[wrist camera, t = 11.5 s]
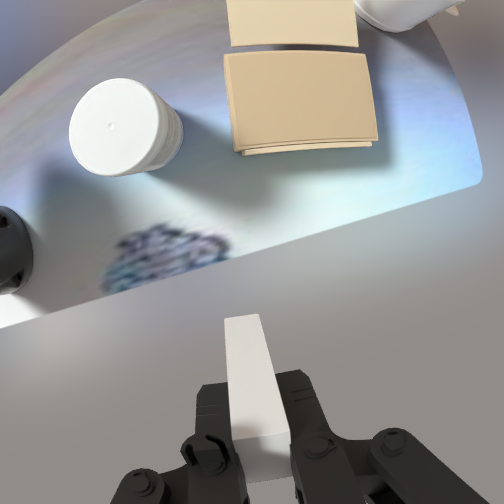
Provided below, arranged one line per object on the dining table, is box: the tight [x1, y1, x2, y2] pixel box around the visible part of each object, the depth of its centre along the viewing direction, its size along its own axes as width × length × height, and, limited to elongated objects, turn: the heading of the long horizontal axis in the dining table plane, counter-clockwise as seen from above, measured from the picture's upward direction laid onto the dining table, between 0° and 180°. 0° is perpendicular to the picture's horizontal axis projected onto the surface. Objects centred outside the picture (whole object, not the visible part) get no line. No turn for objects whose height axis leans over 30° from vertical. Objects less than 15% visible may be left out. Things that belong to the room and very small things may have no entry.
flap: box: [226, 0, 359, 47], centre depth 26 cm, size 16×1×12 cm
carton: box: [224, 50, 378, 156], centre depth 34 cm, size 18×13×6 cm
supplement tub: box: [69, 78, 183, 177], centre depth 29 cm, size 10×10×15 cm
